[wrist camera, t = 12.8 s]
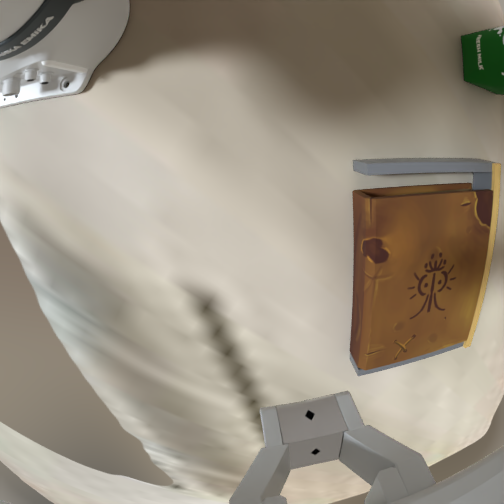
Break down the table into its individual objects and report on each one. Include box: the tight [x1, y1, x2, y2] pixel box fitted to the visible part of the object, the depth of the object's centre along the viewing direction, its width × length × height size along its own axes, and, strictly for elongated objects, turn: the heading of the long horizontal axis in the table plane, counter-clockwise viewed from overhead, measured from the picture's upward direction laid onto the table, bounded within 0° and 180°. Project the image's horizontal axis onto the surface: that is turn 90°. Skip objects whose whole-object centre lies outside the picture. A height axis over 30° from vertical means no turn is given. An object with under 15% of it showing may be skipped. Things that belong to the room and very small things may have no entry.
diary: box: [350, 183, 493, 371], centre depth 37 cm, size 23×19×6 cm
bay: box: [350, 158, 501, 376], centre depth 37 cm, size 20×28×5 cm
